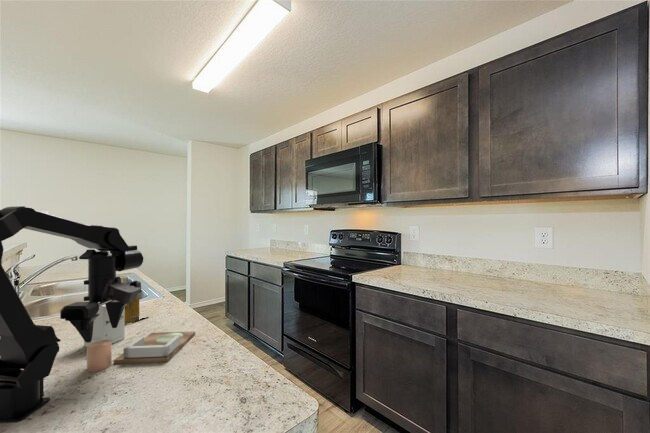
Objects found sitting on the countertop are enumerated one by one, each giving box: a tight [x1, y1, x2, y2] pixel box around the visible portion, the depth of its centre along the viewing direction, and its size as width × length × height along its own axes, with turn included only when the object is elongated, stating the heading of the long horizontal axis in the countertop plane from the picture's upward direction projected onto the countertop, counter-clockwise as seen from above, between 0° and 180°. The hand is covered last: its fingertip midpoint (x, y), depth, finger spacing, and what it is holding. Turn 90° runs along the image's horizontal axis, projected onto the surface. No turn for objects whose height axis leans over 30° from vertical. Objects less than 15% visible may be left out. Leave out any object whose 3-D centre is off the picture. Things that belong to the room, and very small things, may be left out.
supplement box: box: [83, 302, 126, 348], centre depth 88 cm, size 7×7×13 cm
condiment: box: [125, 294, 140, 326], centre depth 108 cm, size 7×8×12 cm
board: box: [113, 330, 196, 365], centre depth 84 cm, size 18×14×1 cm
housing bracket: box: [123, 336, 180, 358], centre depth 79 cm, size 7×11×2 cm, turn 93°
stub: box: [86, 340, 113, 373], centre depth 73 cm, size 5×5×6 cm
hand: (102, 334), depth 73 cm, fingers open, 9 cm apart
